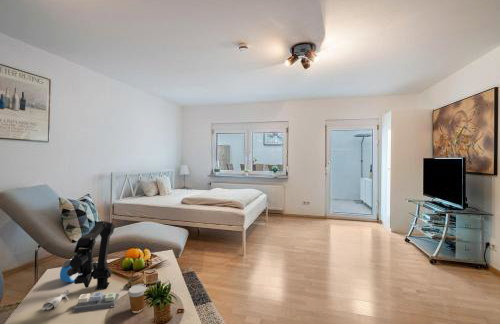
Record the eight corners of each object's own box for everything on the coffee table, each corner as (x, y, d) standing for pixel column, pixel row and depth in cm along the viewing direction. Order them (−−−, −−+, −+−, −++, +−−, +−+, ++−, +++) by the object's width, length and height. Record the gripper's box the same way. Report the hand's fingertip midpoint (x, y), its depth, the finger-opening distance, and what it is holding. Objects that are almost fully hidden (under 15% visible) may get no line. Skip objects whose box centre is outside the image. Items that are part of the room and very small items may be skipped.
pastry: (125, 283, 159) (125, 271, 158) (149, 276, 168) (149, 265, 168) (130, 293, 148) (130, 280, 148) (155, 285, 158) (155, 273, 157)
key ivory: (81, 298, 137) (81, 294, 137) (90, 297, 138) (90, 293, 138) (78, 303, 133) (77, 298, 133) (87, 301, 134) (87, 297, 134)
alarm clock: (68, 286, 154) (68, 263, 153) (59, 286, 154) (58, 262, 153) (83, 275, 167) (83, 254, 166) (74, 275, 167) (74, 253, 166)
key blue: (94, 296, 139) (94, 292, 139) (103, 295, 140) (103, 291, 140) (91, 301, 135) (91, 297, 135) (100, 300, 136) (100, 296, 136)
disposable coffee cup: (150, 310, 133) (150, 288, 132) (131, 318, 126) (131, 295, 126) (143, 302, 140) (143, 281, 139) (125, 309, 133) (125, 288, 133)
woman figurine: (33, 305, 128) (58, 288, 146) (32, 313, 128) (57, 295, 146) (56, 305, 129) (78, 287, 147) (56, 313, 129) (78, 295, 147)
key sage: (107, 297, 141) (107, 293, 141) (115, 296, 142) (115, 292, 142) (104, 301, 137) (104, 297, 136) (113, 300, 138) (113, 296, 138)
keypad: (81, 300, 140) (81, 296, 140) (118, 295, 145) (118, 291, 145) (73, 312, 130) (73, 308, 130) (113, 307, 135) (113, 302, 135)
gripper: (75, 254, 141) (76, 280, 142) (61, 269, 123) (62, 299, 124) (97, 252, 145) (98, 278, 145) (87, 267, 127) (87, 296, 128)
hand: (86, 287), depth 136 cm, fingers closed
